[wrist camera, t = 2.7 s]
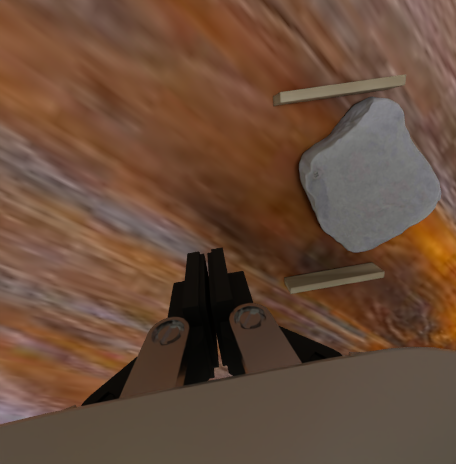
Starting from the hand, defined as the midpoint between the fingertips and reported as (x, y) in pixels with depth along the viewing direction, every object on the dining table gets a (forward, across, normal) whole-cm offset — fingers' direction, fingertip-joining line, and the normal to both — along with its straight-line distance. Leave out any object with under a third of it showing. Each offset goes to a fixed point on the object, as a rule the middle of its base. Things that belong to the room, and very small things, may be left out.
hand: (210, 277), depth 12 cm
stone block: (+13, -14, 0) cm, 19 cm away
